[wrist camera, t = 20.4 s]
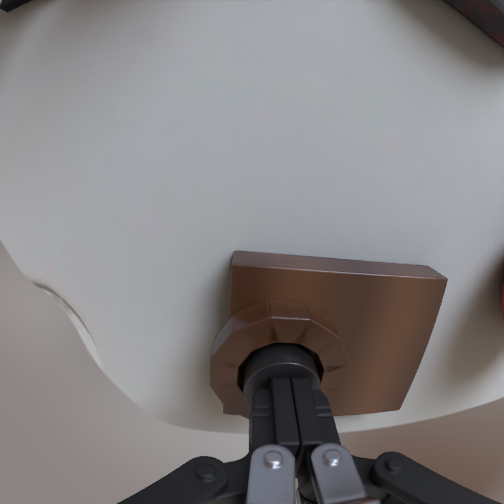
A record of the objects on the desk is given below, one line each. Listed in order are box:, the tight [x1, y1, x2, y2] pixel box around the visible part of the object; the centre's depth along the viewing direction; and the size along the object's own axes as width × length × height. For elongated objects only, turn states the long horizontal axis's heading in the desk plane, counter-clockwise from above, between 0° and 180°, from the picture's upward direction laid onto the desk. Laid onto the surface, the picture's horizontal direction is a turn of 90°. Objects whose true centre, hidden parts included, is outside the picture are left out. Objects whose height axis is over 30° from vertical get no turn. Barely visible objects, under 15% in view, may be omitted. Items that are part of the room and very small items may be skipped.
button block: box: [210, 251, 448, 419], centre depth 14 cm, size 12×9×4 cm
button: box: [243, 342, 321, 408], centre depth 12 cm, size 3×3×2 cm
